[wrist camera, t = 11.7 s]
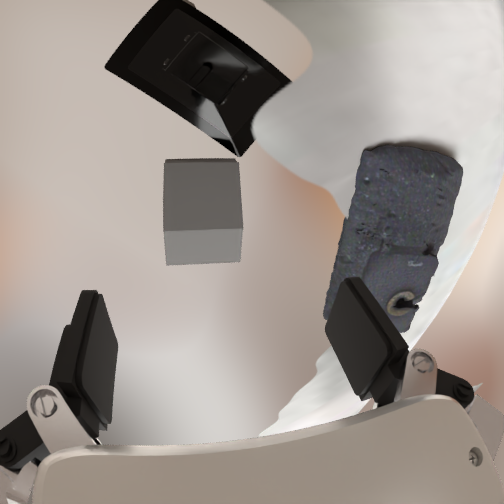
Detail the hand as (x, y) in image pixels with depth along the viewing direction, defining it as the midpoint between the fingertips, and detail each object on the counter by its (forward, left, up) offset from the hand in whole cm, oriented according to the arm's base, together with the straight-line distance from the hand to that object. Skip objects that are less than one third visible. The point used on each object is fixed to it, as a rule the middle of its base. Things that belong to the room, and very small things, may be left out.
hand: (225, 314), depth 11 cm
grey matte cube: (0, 0, -13) cm, 13 cm away
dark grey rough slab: (-20, +5, -14) cm, 25 cm away
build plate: (0, -9, -14) cm, 16 cm away
